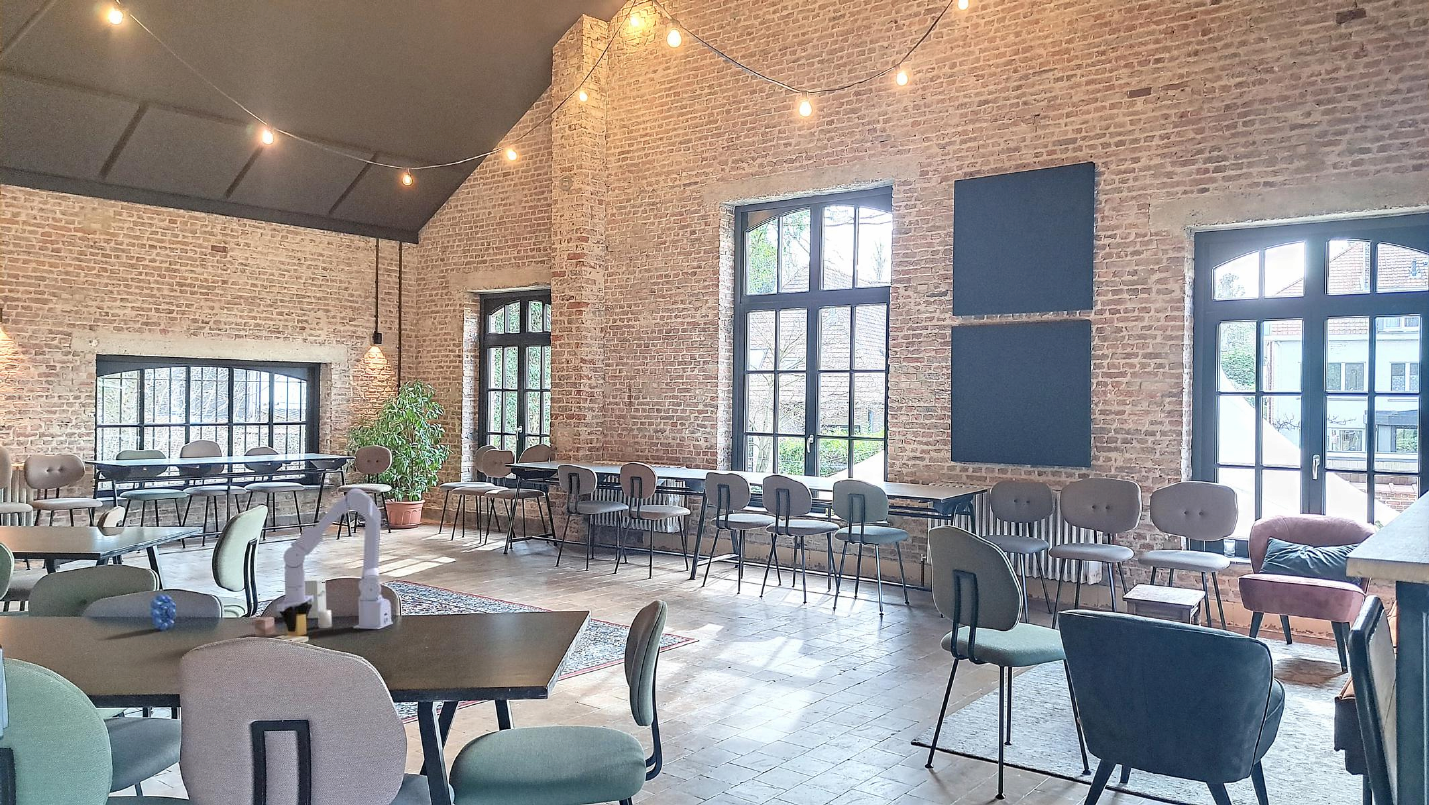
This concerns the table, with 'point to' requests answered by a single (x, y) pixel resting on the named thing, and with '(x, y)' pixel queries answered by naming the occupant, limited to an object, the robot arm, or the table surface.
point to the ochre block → (299, 626)
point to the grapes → (163, 611)
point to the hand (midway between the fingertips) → (296, 629)
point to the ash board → (294, 638)
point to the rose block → (264, 626)
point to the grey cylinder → (324, 619)
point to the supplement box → (316, 594)
